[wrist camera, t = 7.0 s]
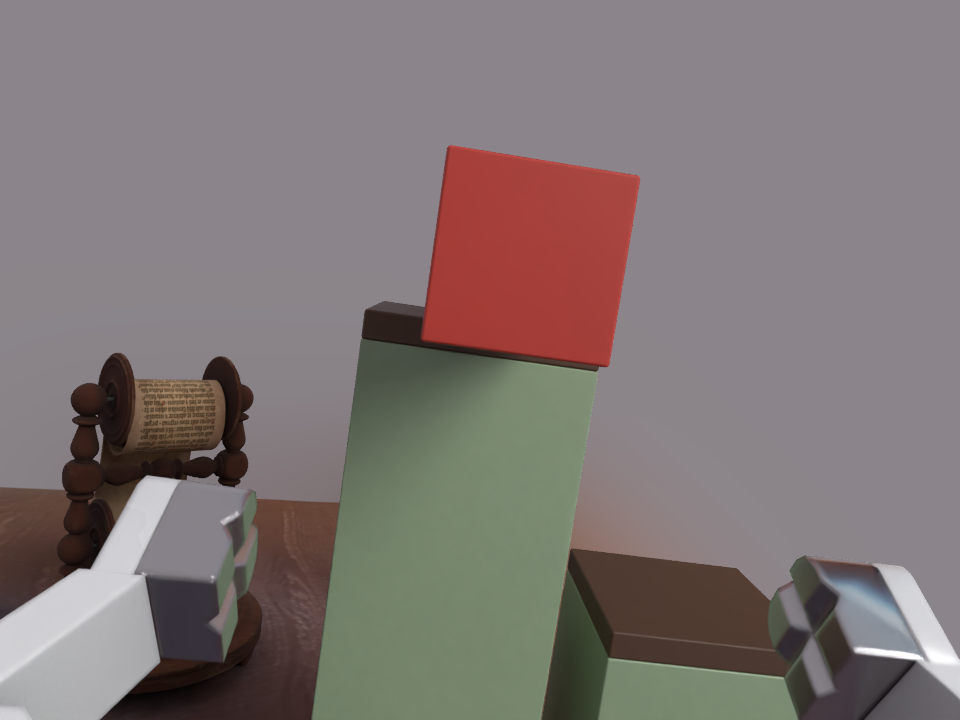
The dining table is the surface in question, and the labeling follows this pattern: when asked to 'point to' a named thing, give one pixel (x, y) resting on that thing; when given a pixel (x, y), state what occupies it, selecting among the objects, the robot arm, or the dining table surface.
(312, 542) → the dining table surface
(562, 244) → the red bar
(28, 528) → the dining table surface
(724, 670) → the step shelf
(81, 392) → the scroll
